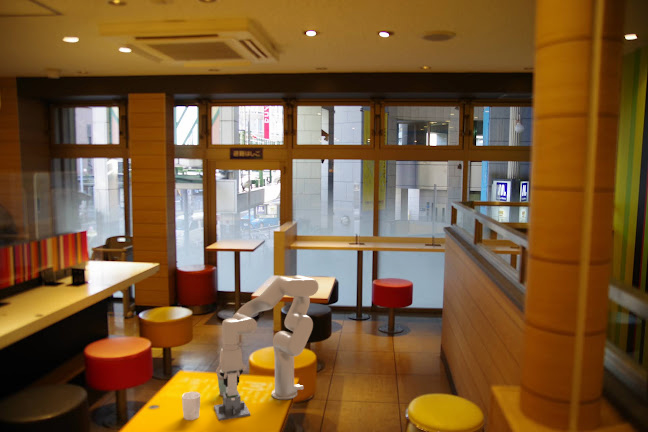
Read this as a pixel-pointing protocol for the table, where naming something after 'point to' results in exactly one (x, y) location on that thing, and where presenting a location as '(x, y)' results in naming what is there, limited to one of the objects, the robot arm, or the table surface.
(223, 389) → the coffee cup
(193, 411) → the white cup
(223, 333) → the robot arm
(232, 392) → the post
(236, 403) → the stand base
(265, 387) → the table surface
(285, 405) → the table surface
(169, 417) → the table surface
